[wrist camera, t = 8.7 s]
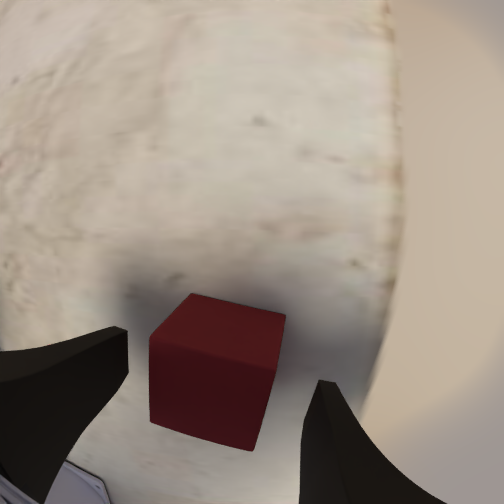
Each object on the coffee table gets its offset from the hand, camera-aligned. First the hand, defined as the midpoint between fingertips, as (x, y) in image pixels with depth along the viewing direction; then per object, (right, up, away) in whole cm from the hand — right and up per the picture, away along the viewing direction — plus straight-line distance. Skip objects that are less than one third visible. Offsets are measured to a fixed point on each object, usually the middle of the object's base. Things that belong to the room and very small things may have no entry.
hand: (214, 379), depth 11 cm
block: (0, +1, +3) cm, 3 cm away
